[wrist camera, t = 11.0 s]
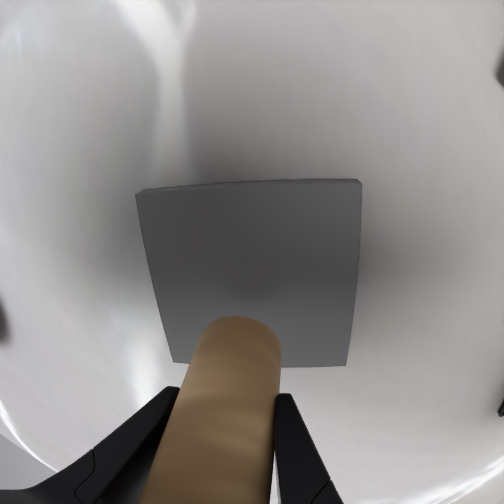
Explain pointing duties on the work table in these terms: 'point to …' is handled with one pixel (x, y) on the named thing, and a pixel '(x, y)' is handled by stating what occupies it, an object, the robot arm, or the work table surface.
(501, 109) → the work table surface
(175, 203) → the mat
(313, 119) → the work table surface
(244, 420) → the dowel
